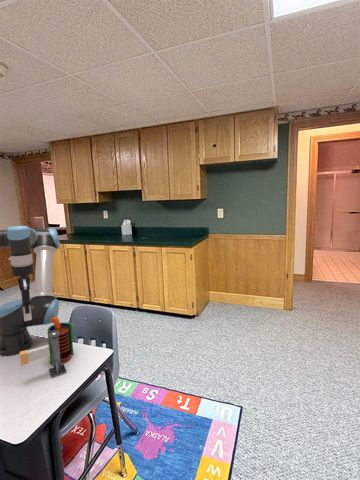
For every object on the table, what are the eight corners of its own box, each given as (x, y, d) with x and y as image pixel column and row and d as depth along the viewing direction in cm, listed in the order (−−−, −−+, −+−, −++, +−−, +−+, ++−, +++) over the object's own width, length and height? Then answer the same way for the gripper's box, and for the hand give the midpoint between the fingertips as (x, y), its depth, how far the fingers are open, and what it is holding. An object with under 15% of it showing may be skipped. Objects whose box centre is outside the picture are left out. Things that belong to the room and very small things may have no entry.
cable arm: (50, 356, 109) (49, 346, 108) (21, 365, 103) (20, 355, 102) (49, 353, 111) (48, 343, 110) (20, 362, 105) (19, 351, 104)
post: (48, 370, 113) (45, 331, 111) (63, 365, 117) (60, 327, 114) (51, 378, 109) (47, 337, 106) (66, 372, 112) (63, 333, 109)
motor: (62, 367, 116) (58, 324, 113) (45, 364, 118) (40, 322, 114) (76, 353, 126) (73, 314, 123) (59, 351, 127) (56, 313, 124)
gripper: (10, 262, 108) (16, 316, 112) (11, 269, 98) (18, 328, 102) (31, 260, 113) (36, 312, 116) (34, 266, 102) (40, 323, 106)
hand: (28, 319), depth 109 cm, fingers closed
